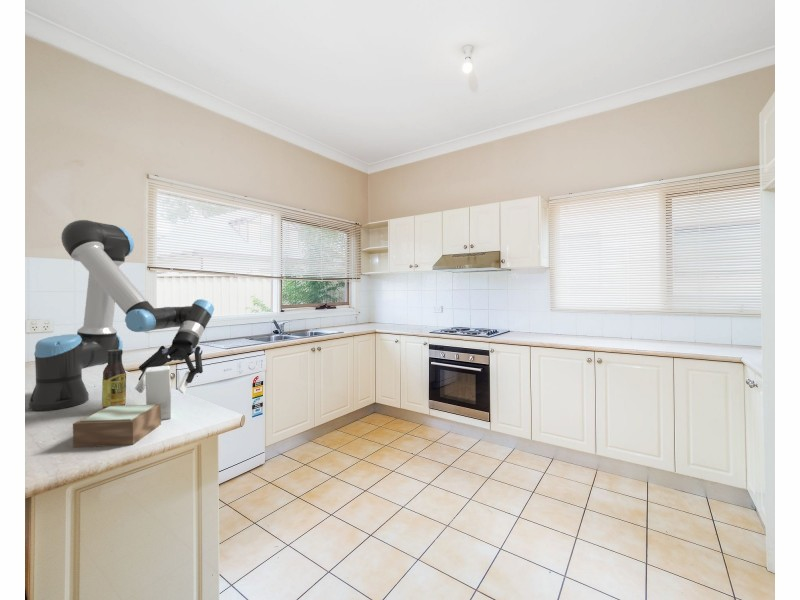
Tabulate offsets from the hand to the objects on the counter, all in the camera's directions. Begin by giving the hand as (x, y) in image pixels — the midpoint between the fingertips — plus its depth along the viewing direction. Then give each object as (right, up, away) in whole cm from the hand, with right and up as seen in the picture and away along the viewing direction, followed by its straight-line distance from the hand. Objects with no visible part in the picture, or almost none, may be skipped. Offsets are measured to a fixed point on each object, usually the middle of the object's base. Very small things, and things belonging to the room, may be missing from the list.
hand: (159, 391), depth 114 cm
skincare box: (-1, -9, +1) cm, 9 cm away
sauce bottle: (-20, -8, +7) cm, 23 cm away
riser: (-2, -9, -13) cm, 16 cm away
